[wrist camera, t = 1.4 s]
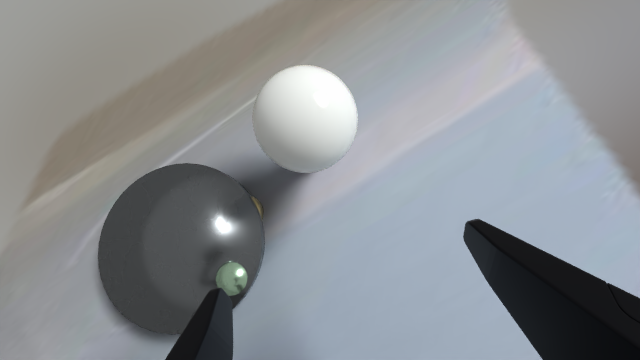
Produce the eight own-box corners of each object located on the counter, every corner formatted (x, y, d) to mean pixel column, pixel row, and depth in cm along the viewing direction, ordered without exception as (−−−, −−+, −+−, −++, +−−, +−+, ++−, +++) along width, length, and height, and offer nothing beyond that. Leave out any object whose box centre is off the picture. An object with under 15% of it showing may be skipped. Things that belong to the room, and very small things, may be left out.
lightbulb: (325, 201, 23) (322, 183, 12) (265, 166, 24) (211, 119, 13) (361, 141, 24) (387, 74, 13) (302, 109, 25) (280, 19, 14)
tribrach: (215, 353, 21) (199, 371, 19) (92, 268, 23) (62, 274, 20) (296, 215, 23) (292, 214, 20) (177, 144, 24) (159, 134, 22)
